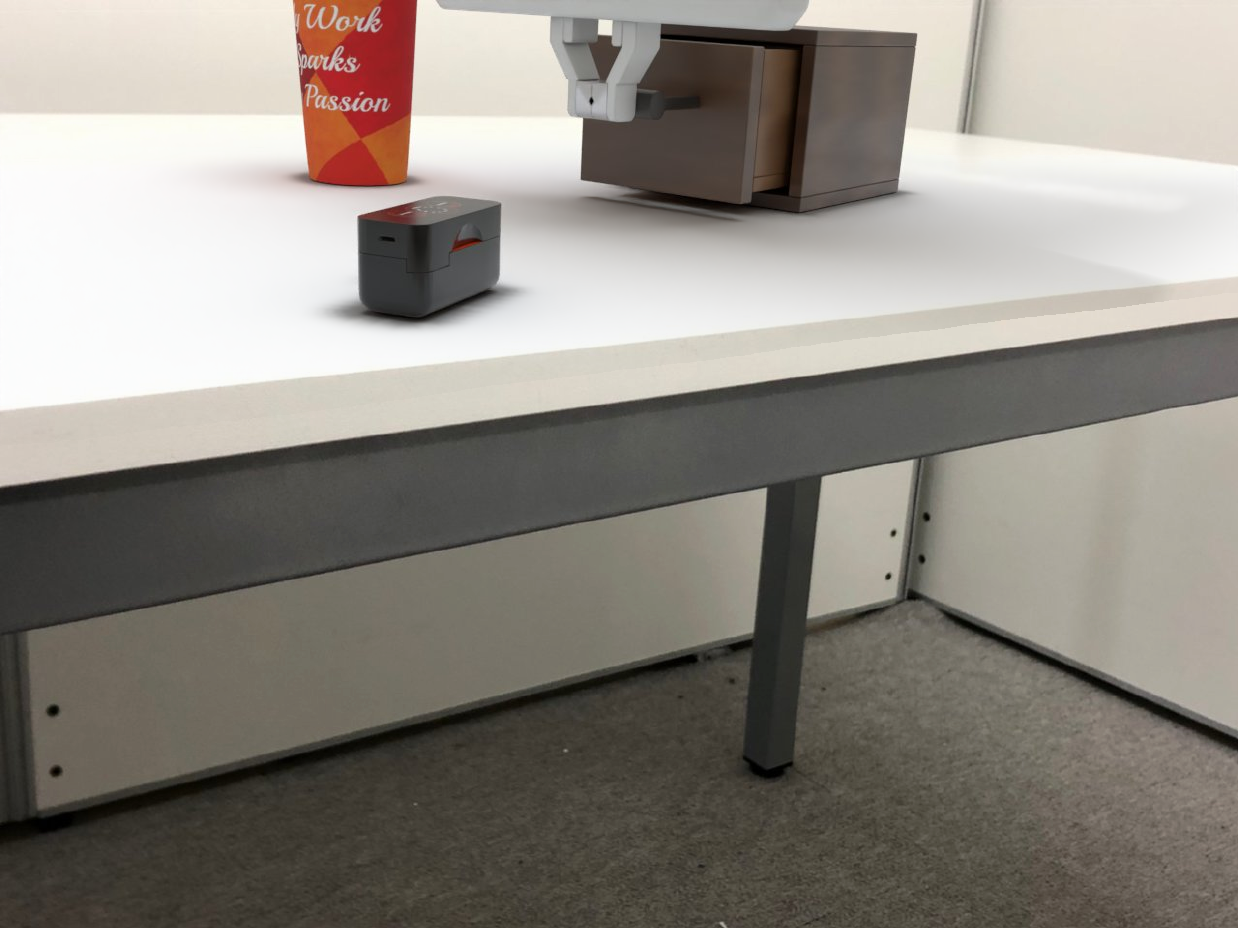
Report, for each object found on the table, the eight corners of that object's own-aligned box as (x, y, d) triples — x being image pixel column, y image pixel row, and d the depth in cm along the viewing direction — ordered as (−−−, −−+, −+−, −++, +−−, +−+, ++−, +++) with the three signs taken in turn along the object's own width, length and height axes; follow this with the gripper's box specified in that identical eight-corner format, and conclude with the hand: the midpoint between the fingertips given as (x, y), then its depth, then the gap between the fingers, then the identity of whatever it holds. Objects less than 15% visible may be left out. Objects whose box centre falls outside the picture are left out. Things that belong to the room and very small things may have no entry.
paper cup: (261, 176, 72) (249, -91, 67) (354, 166, 78) (350, -80, 73) (364, 193, 68) (360, -89, 64) (454, 181, 75) (456, -77, 70)
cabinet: (799, 212, 70) (817, 30, 67) (627, 187, 76) (636, 18, 73) (897, 191, 81) (918, 33, 77) (740, 170, 87) (752, 22, 83)
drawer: (690, 213, 62) (702, 46, 59) (524, 187, 67) (529, 33, 65) (844, 185, 75) (860, 47, 73) (696, 165, 81) (705, 36, 78)
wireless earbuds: (514, 285, 49) (516, 200, 48) (423, 323, 42) (423, 226, 41) (407, 270, 50) (407, 187, 49) (304, 305, 44) (301, 211, 43)
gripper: (853, -191, 55) (819, 137, 59) (490, -178, 65) (486, 99, 70) (785, -215, 50) (754, 145, 55) (405, -196, 60) (406, 103, 65)
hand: (600, 119), depth 62 cm, fingers closed, pressing on drawer
